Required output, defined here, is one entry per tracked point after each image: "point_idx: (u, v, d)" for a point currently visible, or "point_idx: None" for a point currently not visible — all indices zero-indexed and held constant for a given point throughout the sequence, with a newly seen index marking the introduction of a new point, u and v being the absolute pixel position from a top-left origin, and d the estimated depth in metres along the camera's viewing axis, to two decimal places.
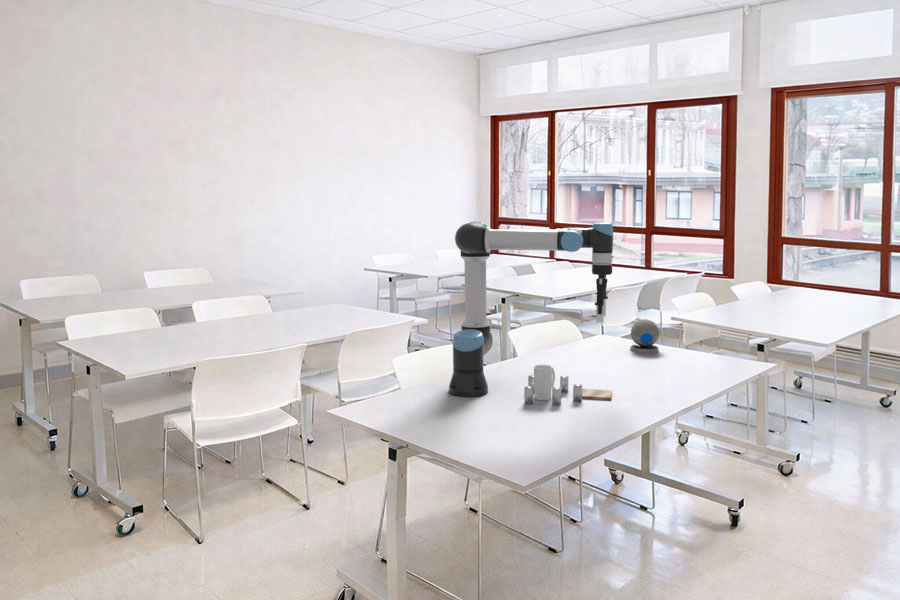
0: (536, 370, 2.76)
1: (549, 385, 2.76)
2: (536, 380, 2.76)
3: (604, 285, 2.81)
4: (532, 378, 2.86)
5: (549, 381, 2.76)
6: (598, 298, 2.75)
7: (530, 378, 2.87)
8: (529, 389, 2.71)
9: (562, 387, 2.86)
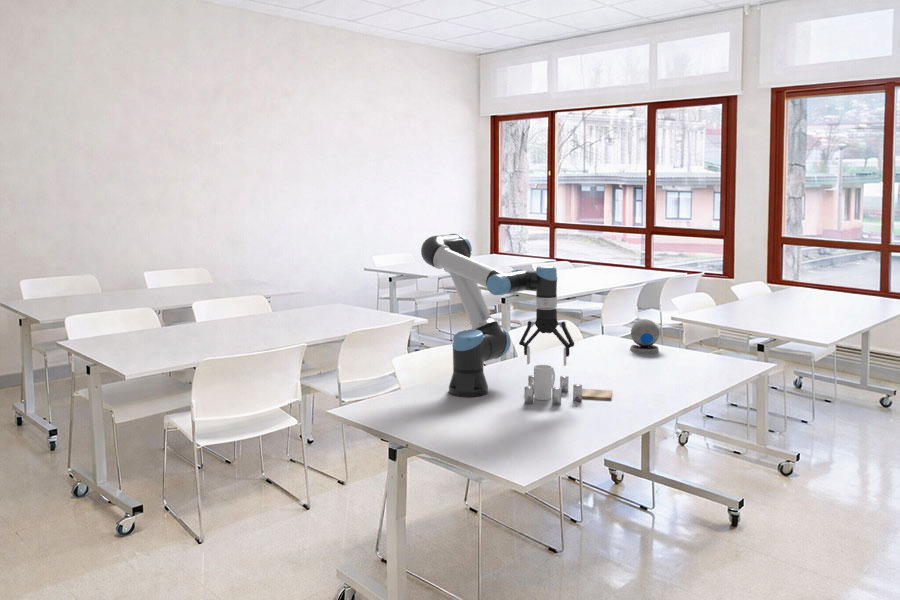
0: (536, 370, 2.76)
1: (549, 385, 2.76)
2: (536, 380, 2.76)
3: (542, 330, 2.76)
4: (532, 378, 2.86)
5: (549, 381, 2.76)
6: None
7: (530, 378, 2.87)
8: (529, 389, 2.71)
9: (562, 387, 2.86)
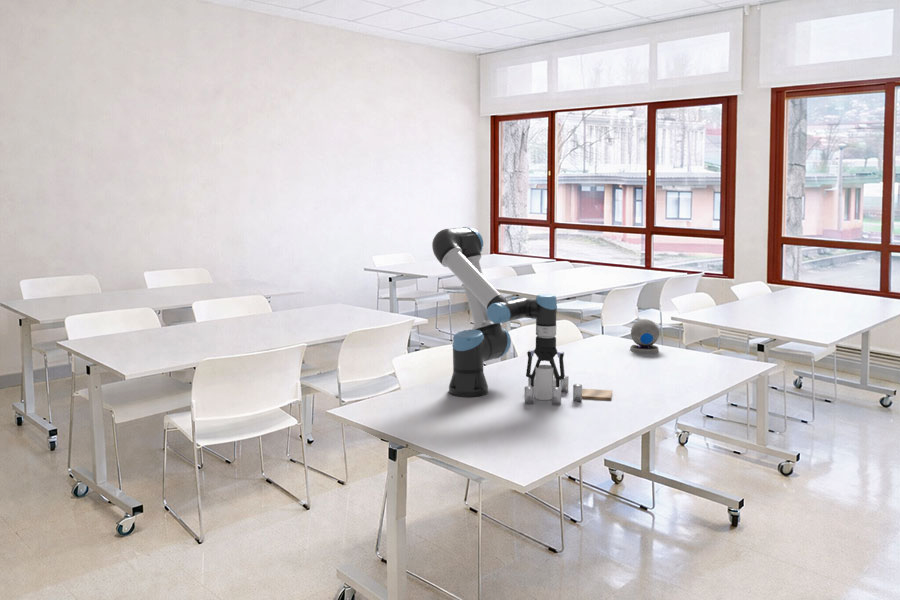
0: (537, 370, 2.76)
1: (550, 385, 2.76)
2: (537, 380, 2.76)
3: (543, 357, 2.77)
4: None
5: (550, 381, 2.76)
6: None
7: (530, 378, 2.87)
8: (529, 389, 2.71)
9: (562, 387, 2.86)
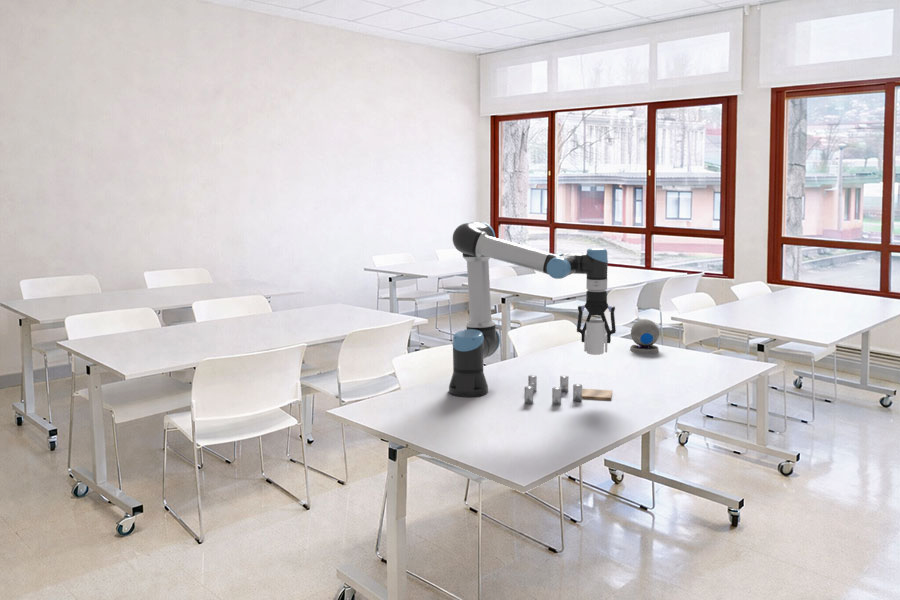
0: (589, 324, 2.74)
1: (602, 339, 2.74)
2: (589, 334, 2.75)
3: (593, 312, 2.76)
4: (532, 378, 2.86)
5: (602, 335, 2.74)
6: None
7: (530, 378, 2.87)
8: (529, 389, 2.71)
9: (562, 387, 2.86)
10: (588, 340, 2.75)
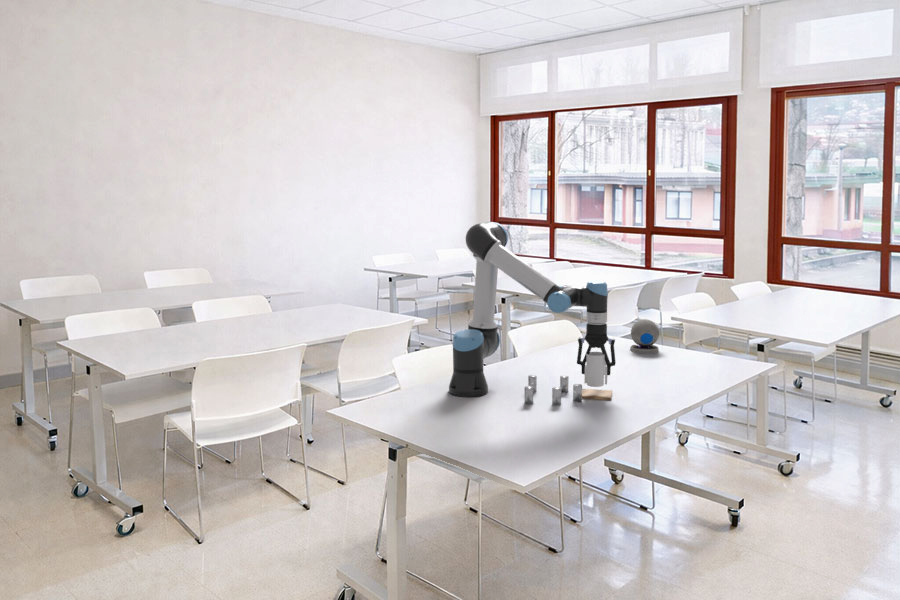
0: (589, 357, 2.76)
1: (602, 372, 2.77)
2: (589, 367, 2.77)
3: (593, 344, 2.78)
4: (532, 378, 2.86)
5: (602, 368, 2.76)
6: None
7: (530, 378, 2.87)
8: (529, 389, 2.71)
9: (562, 387, 2.86)
10: (588, 372, 2.77)
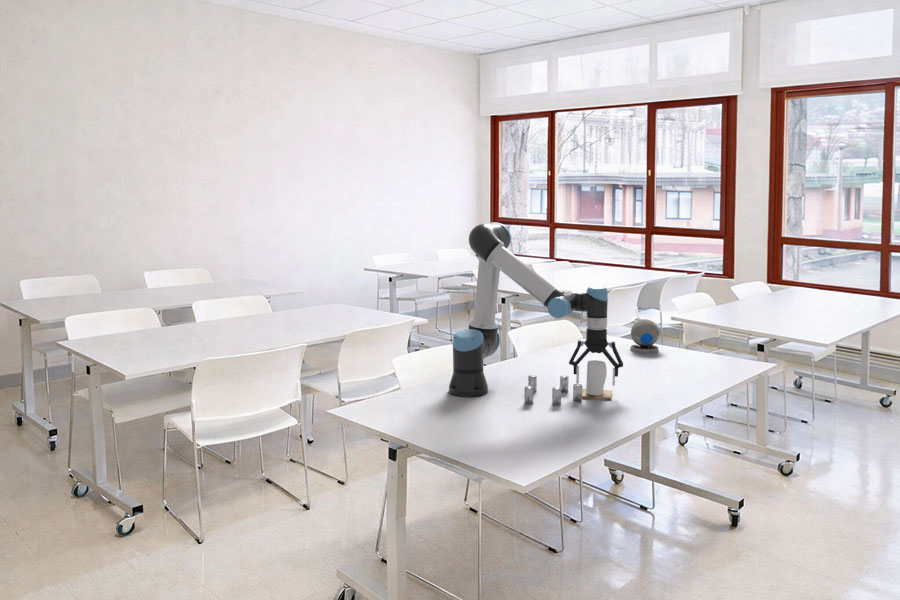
0: (590, 365, 2.77)
1: (602, 380, 2.77)
2: (590, 375, 2.77)
3: (592, 349, 2.78)
4: (532, 378, 2.86)
5: (602, 376, 2.77)
6: None
7: (530, 378, 2.87)
8: (529, 389, 2.71)
9: (562, 387, 2.86)
10: (588, 381, 2.78)
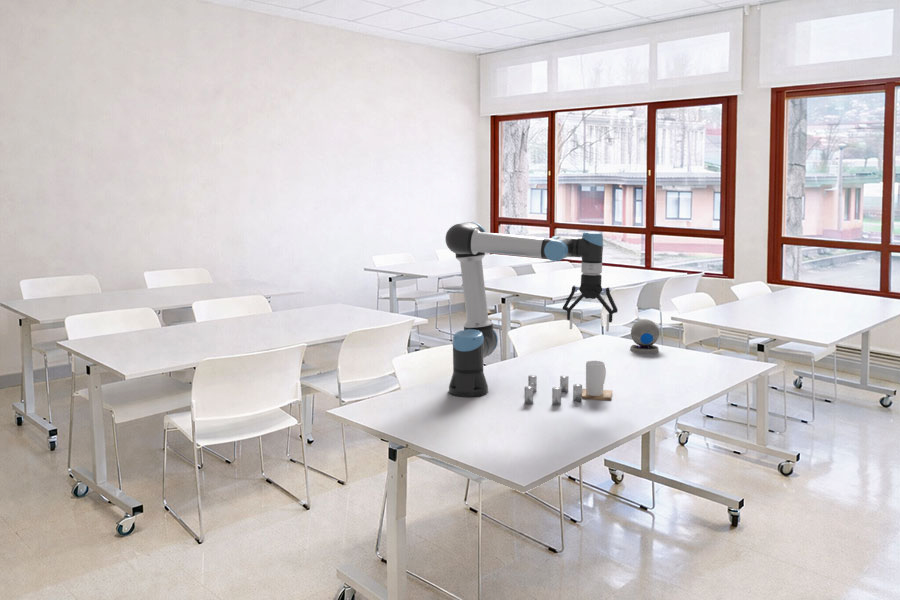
0: (589, 366, 2.77)
1: (602, 381, 2.77)
2: (589, 376, 2.77)
3: (586, 295, 2.78)
4: (532, 378, 2.86)
5: (602, 377, 2.77)
6: None
7: (530, 378, 2.87)
8: (529, 389, 2.71)
9: (562, 387, 2.86)
10: (588, 381, 2.78)
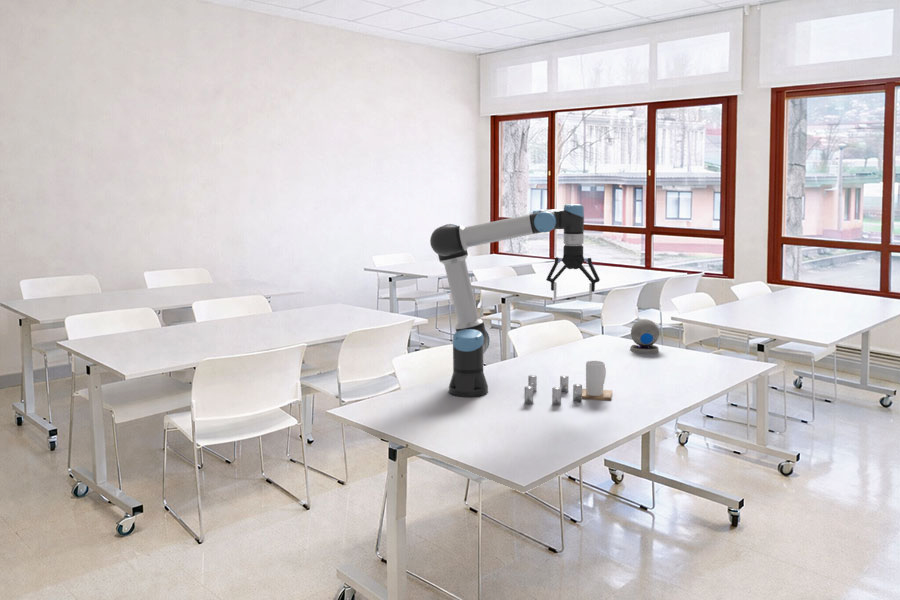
0: (589, 366, 2.77)
1: (602, 381, 2.77)
2: (589, 376, 2.77)
3: (569, 266, 2.86)
4: (532, 378, 2.86)
5: (602, 377, 2.77)
6: None
7: (530, 378, 2.87)
8: (529, 389, 2.71)
9: (562, 387, 2.86)
10: (588, 381, 2.78)
